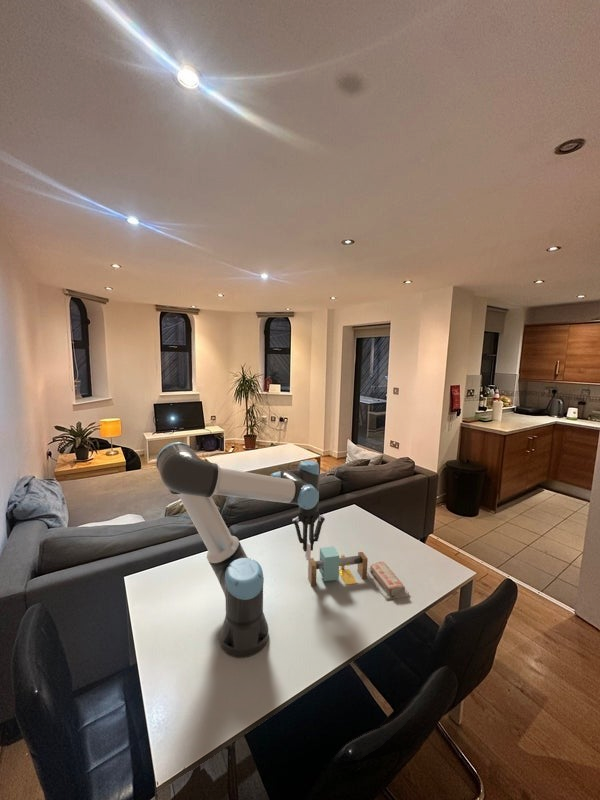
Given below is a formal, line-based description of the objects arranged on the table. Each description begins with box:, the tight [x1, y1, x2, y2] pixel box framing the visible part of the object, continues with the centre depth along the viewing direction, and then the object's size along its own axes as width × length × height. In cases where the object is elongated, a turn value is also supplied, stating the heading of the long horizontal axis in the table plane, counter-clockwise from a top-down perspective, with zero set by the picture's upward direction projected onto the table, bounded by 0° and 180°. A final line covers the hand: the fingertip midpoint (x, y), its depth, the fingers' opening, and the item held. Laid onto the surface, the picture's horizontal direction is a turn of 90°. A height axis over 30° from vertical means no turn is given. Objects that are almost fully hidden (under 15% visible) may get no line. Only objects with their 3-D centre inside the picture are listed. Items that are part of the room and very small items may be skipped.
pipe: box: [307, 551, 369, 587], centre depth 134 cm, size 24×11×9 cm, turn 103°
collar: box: [318, 546, 340, 582], centre depth 132 cm, size 6×7×10 cm
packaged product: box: [367, 561, 410, 601], centre depth 132 cm, size 18×5×10 cm
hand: (307, 558), depth 130 cm, fingers closed
